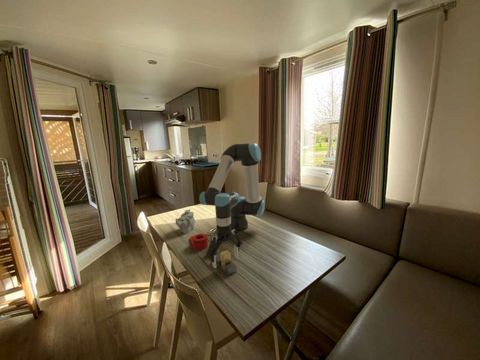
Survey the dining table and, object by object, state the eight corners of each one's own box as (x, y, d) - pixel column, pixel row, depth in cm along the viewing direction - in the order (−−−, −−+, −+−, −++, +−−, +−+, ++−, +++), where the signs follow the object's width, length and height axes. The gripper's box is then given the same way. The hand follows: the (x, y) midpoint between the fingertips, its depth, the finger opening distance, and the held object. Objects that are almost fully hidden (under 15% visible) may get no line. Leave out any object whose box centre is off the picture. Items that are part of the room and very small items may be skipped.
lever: (210, 247, 130) (209, 237, 129) (197, 252, 125) (196, 242, 123) (198, 237, 144) (197, 228, 143) (185, 241, 139) (184, 232, 138)
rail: (206, 254, 121) (206, 249, 120) (214, 252, 124) (214, 246, 123) (228, 275, 101) (227, 268, 101) (236, 271, 104) (236, 265, 104)
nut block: (221, 266, 108) (220, 252, 107) (227, 263, 110) (226, 250, 109) (225, 270, 105) (224, 255, 103) (231, 267, 107) (230, 253, 106)
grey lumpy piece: (177, 238, 143) (175, 215, 140) (174, 231, 155) (172, 210, 152) (198, 233, 150) (196, 211, 146) (193, 227, 162) (192, 206, 158)
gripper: (204, 233, 93) (207, 275, 97) (247, 220, 107) (248, 256, 111) (197, 228, 99) (201, 267, 103) (239, 216, 113) (241, 251, 117)
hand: (225, 262), depth 107 cm, fingers open, 13 cm apart
